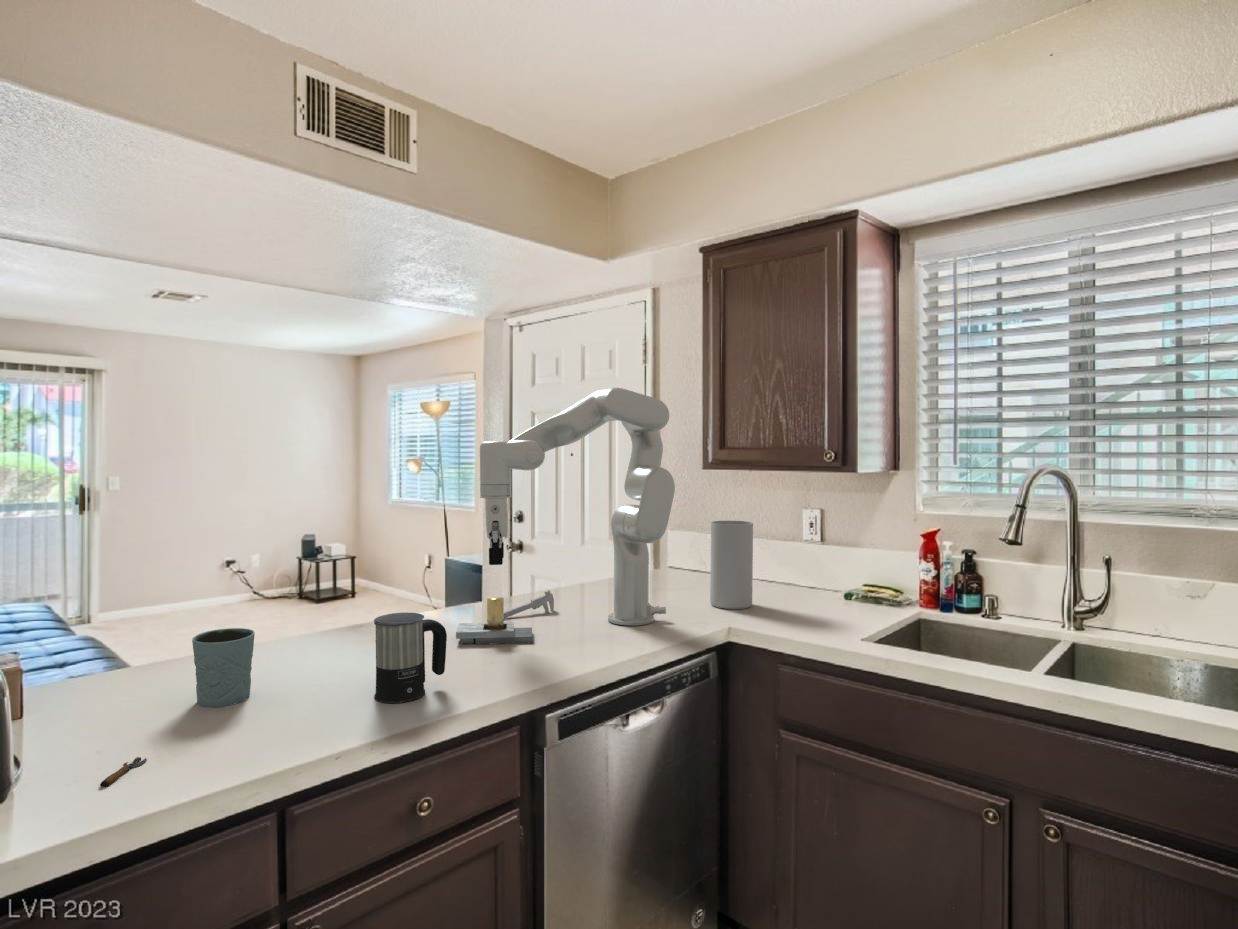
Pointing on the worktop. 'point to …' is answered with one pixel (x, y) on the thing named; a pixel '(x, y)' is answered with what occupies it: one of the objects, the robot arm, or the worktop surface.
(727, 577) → the cylinder vase
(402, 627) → the milk frother
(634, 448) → the robot arm
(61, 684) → the worktop surface
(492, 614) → the pin
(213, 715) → the worktop surface
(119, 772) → the can opener
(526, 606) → the caliper
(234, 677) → the embossed planter pot
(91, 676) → the worktop surface
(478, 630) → the grey socket block
